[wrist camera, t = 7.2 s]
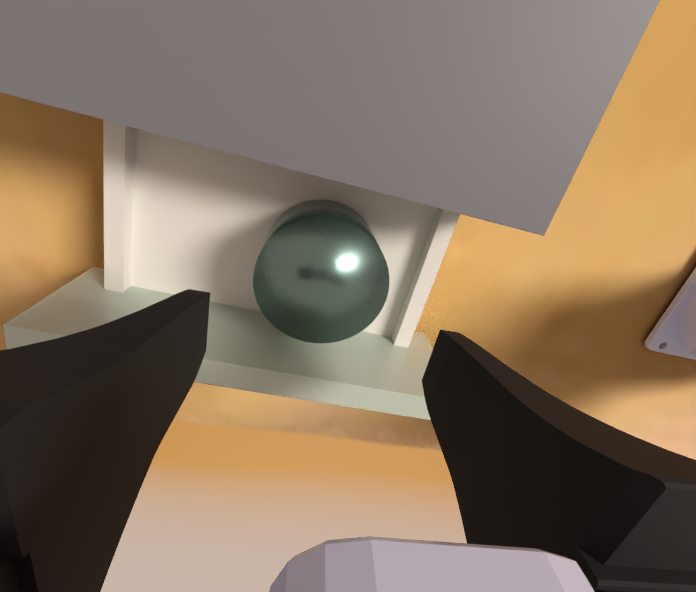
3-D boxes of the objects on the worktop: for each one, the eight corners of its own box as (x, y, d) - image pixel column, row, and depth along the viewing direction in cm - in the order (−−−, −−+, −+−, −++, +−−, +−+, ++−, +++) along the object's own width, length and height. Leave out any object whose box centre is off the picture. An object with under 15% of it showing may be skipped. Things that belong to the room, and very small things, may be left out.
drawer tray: (556, 5, 15) (682, -56, 10) (418, 350, 22) (448, 422, 17) (84, -176, 12) (-95, -399, 7) (93, 287, 19) (6, 351, 14)
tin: (391, 217, 17) (408, 239, 14) (357, 315, 20) (365, 354, 16) (277, 184, 16) (268, 200, 13) (255, 292, 19) (241, 328, 15)
